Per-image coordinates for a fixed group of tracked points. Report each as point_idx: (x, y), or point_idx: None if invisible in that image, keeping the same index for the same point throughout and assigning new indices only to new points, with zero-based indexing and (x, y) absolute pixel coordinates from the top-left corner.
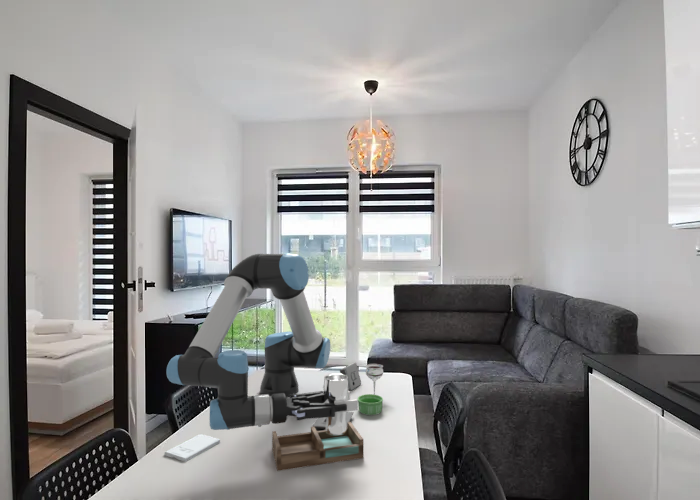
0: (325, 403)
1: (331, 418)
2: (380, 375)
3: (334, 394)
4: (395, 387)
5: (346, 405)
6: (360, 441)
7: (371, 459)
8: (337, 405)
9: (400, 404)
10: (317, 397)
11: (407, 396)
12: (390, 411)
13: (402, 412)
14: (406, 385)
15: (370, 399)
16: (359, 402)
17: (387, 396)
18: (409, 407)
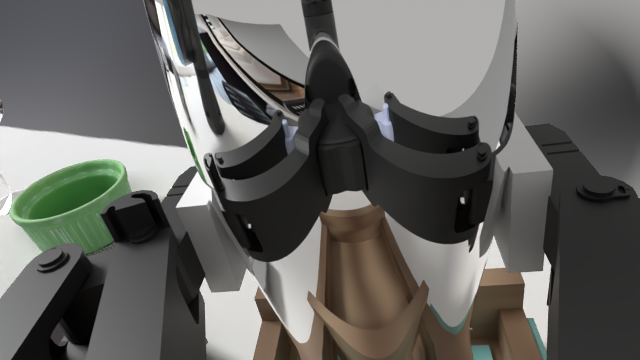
0: (575, 262)
1: (455, 351)
2: (1, 108)
3: (513, 79)
4: (21, 150)
5: (549, 129)
6: (523, 289)
7: (529, 311)
8: (568, 176)
9: (130, 158)
10: (170, 342)
11: (101, 139)
12: (151, 183)
13: (184, 162)
14: (39, 132)
15: (51, 197)
16: (52, 224)
17: (49, 173)
18: (167, 146)
